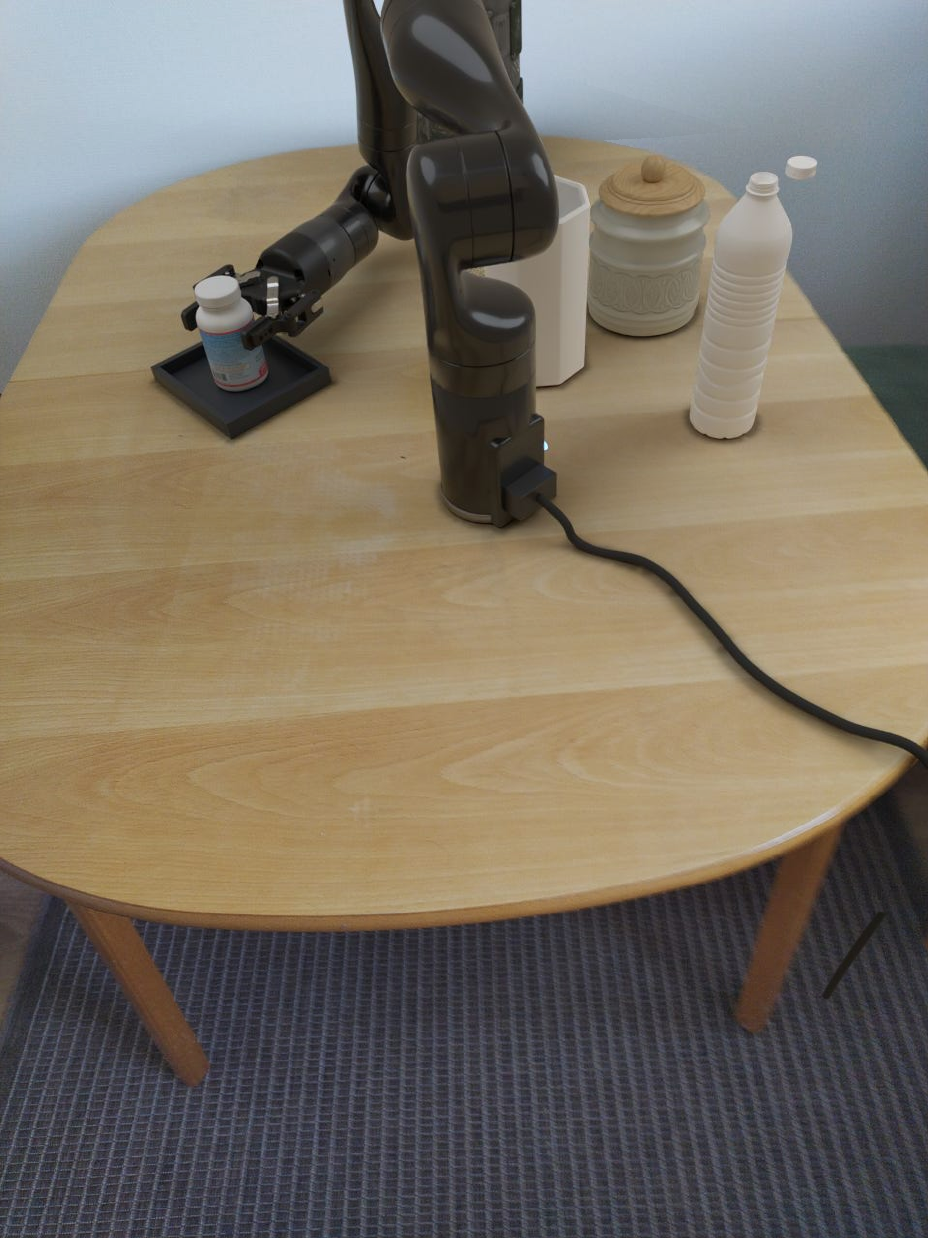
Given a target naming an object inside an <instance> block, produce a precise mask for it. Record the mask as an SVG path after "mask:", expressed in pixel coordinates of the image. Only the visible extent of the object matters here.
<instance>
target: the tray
mask: <svg viewBox="0 0 928 1238" xmlns="http://www.w3.org/2000/svg"><path fill="white" fill-rule="evenodd" d="M262 348H263V352H264V356H265V360H266V364H267V368H268V374H267V377H266V378H265V380H264V381H263V382H262V383H260V384H259V385H257V386H255V387H253V388H250V389H248V390H244V391H238V392H233V391H227V390H224V389H222V388H220V387H219V386H218V385H217V384H216V382H215V380H214V377H213V374H212V371H211V368H210V364H209V361H208V358H207V355H206V351H205V348H204V345H203V342H202V340H201V341H198V342H197V343H195V344H193V345H191V346H189V347H187V348H185V349H183V350H181V351H179V352H177V353H175V354H172V355H171V356H169V357H167V358H166V359H163V360H161V361H159V362H157V363H155V364H154V365H151V366H150V370H151V373H152V376H153V379H154V381H155V383H157V384H158V385H159V386H160V387H162V388H163V389H165V391H167V392H168V393H169V394H171V395H173V396H174V397H175V398H177V400H179V401H180V402H182V403H183V404H184V405H186V406H187V407H189V408H190V409H191V410H192V411H193V412H195V413H196V414H198V415H199V416H200V417H202V418H203V419H204V420H206V421H207V422H208V423H210V424H211V425H212V426H213V427H214V428H216V429H218V430H219V431H220V432H222V433H223V434H224V435H225V436H226V437H228V438H229V439H231V440H233V439H235V438H236V437H238V436H240V435H241V434H243V433H245V432H247V431H249V430H250V429H253V428H254V427H256V426H257V425H259V424H261V423H263V422H265V421H267V420H268V419H270V418H271V417H273V416H275V415H277V414H279V413H281V412H282V411H284V410H286V409H287V408H289V407H291V406H293V405H295V404H297V403H298V402H300V401H302V400H303V399H305V398H307V397H309V396H311V395H312V394H314V393H316V392H317V391H319V390H321V389H323V388H324V387H325V388H326V386H328V385H330V384H331V383H332V378H331V373H330V368H329V367H328V366H327V365H325V364H324V363H322V362H321V361H319V360H317V359H316V358H314V357H312V356H311V355H309V354H308V353H307V352H305V351H303V350H301V349H299V347H296V346H295V345H294V344H292V343H290V342H288V341H287V340H285V339H284V338H282V337H281V336H280V335H279V336H272V337H271V338H270V339H268V340H267V341H266V342H265V343H263V344H262Z"/></svg>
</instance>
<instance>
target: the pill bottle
mask: <svg viewBox="0 0 928 1238" xmlns="http://www.w3.org/2000/svg"><path fill="white" fill-rule="evenodd" d="M202 280H203V279H202ZM200 281H201V280H200ZM200 281H199V282H200ZM197 283H198V282H197ZM195 295H196V296H195ZM194 296H195V301H196V300H197V302H198V304H199V306H200V307H199V308H198V310H197V313H196V322H197V325H198V327H197V329H198V333H199V335H200V338H201V339H200V340H201V341H202V342H203V345H204V348H205V351H206V355H207V358H208V361H209V364H210V368H211V371H212V374H213V377H214V380H215V382H216V384H217V385H218V386H219V387H220V388H222V389H224V390H227V391H233V392H238V391H244V390H248V389H250V388H253V387H255V386H257V385H259V384H260V383H262V382H263V381H264V380H265V378H266V377H267V374H268V368H267V364H266V360H265V356H264V352H263V348H262V345H261V346H259V347H256V348H255V349H254V350H252V351H249V350H246V349H244V347H243V344H242V340H241V332H242V331H243V330H244V329H245V328H246V327H248V326H249V325H250V324H252V323H253V322H254V321H256V318H255V314H254V312H253V311H252V308H251V306H250V304H249V303H248V302H247V301H246V300H245V299H243V298H241V290H240V288H239V284H238V282H237V280H236V279H234V278H232V277H229V276H214V277H210V278H207V279H205V280H203V281H201V282H200V283H198V284H197V285H196V287H195V293H194Z"/></svg>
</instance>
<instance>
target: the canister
mask: <svg viewBox="0 0 928 1238" xmlns="http://www.w3.org/2000/svg"><path fill="white" fill-rule="evenodd" d="M482 2H483V4H484V7H485V10H486V13H487V15H488V18H489V21H490V24H491V26H492V29H493V33H494V36H495V40H496V43H497V46H498V49H499V52H500V55H501V58H502V61H503V64H504V67H505V69H506V72H507V74H508V77H509V79H510V81H511V84H512V86H513V88H514V89H515V91H516V93H517V95H518V97H519V99H520V100H521V102H522V104H523V105H524V78H523V77H522V76H521V57H520V55H521V54H522V51H523V18H522V17H523V12H522V11H523V9H522V7H523V6H522V0H482ZM449 136H455V135H453V134H452V133H450V132H448V131H446V130H445V129H443V128H441V127H439V126H438V125H436V124H435V123H433V122H432V121H430V120H429V119H427V118H426V117H424V116H423V115H422V114H420V113H419V112H418V135H417V144H418V143H419V142H422V141H425V140H430V139H436V138H443V137H449Z"/></svg>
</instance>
